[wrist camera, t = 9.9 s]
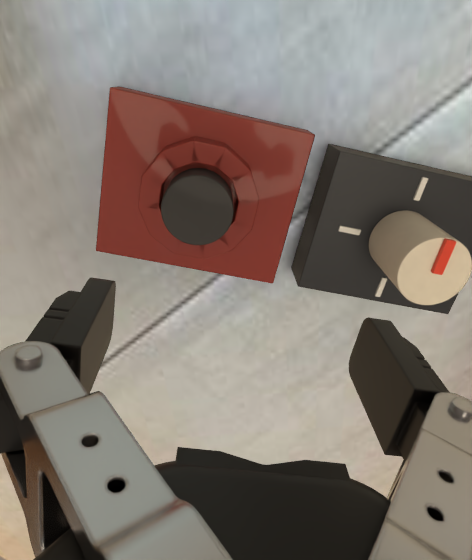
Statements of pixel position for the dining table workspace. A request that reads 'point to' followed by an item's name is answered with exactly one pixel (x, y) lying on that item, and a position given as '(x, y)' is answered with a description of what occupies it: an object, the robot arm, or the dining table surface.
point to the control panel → (373, 220)
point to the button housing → (198, 154)
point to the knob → (419, 257)
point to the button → (197, 206)
